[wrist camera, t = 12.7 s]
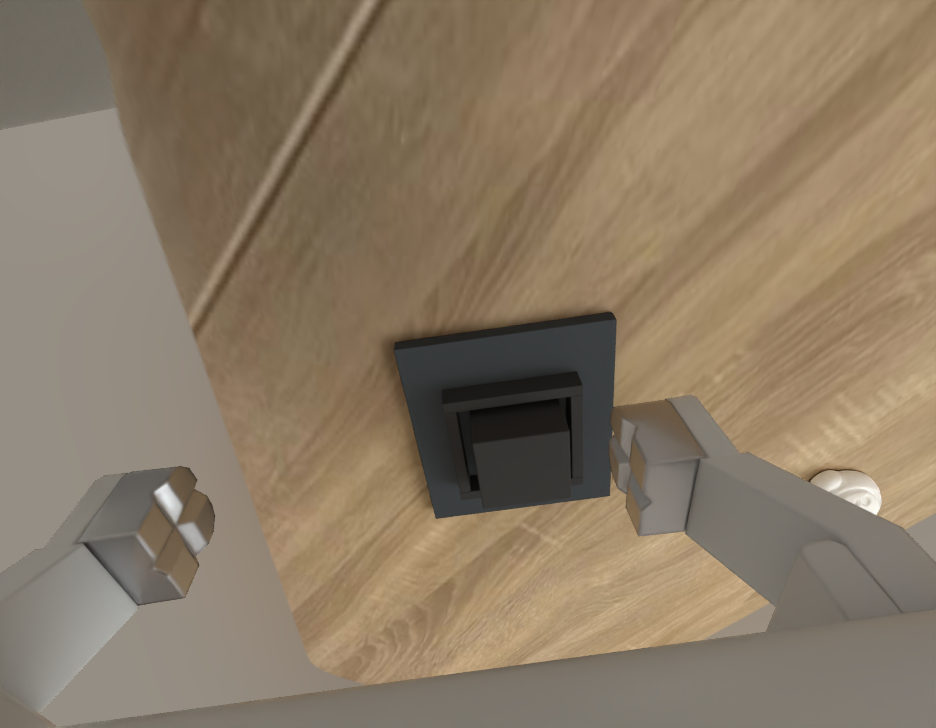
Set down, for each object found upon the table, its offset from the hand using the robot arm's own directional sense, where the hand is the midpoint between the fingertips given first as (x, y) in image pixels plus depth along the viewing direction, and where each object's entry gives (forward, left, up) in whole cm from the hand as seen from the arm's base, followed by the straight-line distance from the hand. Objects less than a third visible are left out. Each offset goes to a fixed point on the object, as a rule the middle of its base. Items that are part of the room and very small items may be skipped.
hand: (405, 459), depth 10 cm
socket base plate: (+3, -17, -21) cm, 27 cm away
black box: (+4, -17, -20) cm, 26 cm away
